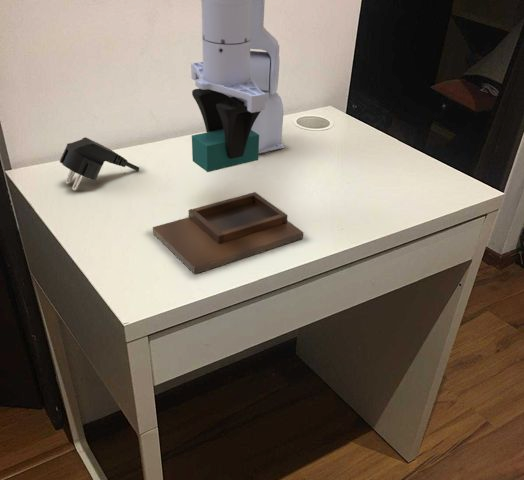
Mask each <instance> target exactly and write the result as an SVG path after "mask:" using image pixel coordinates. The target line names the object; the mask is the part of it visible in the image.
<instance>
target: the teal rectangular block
mask: <svg viewBox="0 0 524 480" xmlns="http://www.w3.org/2000/svg"><path fill="white" fill-rule="evenodd" d="M191 152H192V153H191V155H192V162H193V163H195V164H196V165H197V166H198V167H200V168H201V169H202V170H204V171H205V172H206V173H210V172H215V171H219V170H223V169H228V168H232V167H235V166H239V165H244V164H248V163H253V162H257V161H259V134H257V133H255V132H254V131H252V130H251V131H250V134H249V137H248V140H247V144H246V147H245V151H244V155H243V156H242V157H238V158H233V159H230V158H228V156H227V152H226V145H225V134H224V129H221V130H216V131H211V132H207V131H206V132H202V133H197V134H193V135H191Z"/></svg>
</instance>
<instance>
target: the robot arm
mask: <svg viewBox="0 0 524 480" xmlns="http://www.w3.org/2000/svg"><path fill="white" fill-rule="evenodd" d="M265 2H266V0H201V2H200V3H201V36H202V40H201V41H202V42H201V43H202V61H198V62H192V63H190V71H191V73H190V74H191V79H192V80H193V81H195V82H194V83H195V84H194V85H195V87H197V88H195V89H193V90H192V91H191V92H192V93H191V94H192V97H193V99H194V101H195V102H196V105H197V107H198V109H199V111H200V114H201V116H202V120H203V123H204V126H205V131H206V133H207V132H211V131H216V130H221V129H224V134H225V145H226V152H227V156H228V158H230V159H233V158H238V157H242V156H243V155H244V151H245V147H246V144H247V140H248V137H249V134H250V131H251V130H252V131H254V132H255V133H257V134H259V154H264V153H268V152H272V151H276V150H280V149H284V148H285V144H283V143H282V142H283V141H282V140H283V125H284V104H283V100H282V98H281V96H280V94H279V93H278V92H277V91H278V86H279V76H280V45H279V41H278V40H277V39H276V38H275V36H274V35H273V34H272V33H270V32H269V31H268V30H267V29H266V27H264V25H265V24H264V23H265ZM257 50H261V51H257Z"/></svg>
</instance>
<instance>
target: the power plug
mask: <svg viewBox="0 0 524 480" xmlns="http://www.w3.org/2000/svg"><path fill="white" fill-rule="evenodd" d="M105 162H106V163H109V164H113V165H116V166H119V167H123V168H126V167H127V168H130V169H132V170H134V171H136V172H139V171H140V167H139V166H137V165H135V164H133V163H131V162H128V159H126V158H125V157H123V156H121V155H120V154H118V153H117V152H116V151H114V150H113V149H110V148H109V147H106V146H104V145H103V144H101V143H99V142H98V141H94V140H92V139H90V138H89V137H86V136H85V137H82V138H81V139H78V140H76V141H73V142H70V143H67V144H66V146H65V149H64V150H63V153H62V155H61V157H60V159H59V163H60V164H62V166H64V167H65V168H66V169H68V170H69V172H68V174H67V177H66V179H65V181H64V182H65V184H67V185H70V184H71V183H72V181H73V178H74V176H75V174H77V176H76V178H75V179H74V182H73V184H72V186H71V188H72V190H73V191H78V190H79V186H80V184H81V182H82V181H83V179H84V178H86V179H89V180H91V181H96V180H97V178H98V176H99V174H100V173H101V169H102V168H103V165H104V163H105Z"/></svg>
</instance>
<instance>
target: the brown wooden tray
mask: <svg viewBox="0 0 524 480" xmlns="http://www.w3.org/2000/svg"><path fill="white" fill-rule="evenodd" d="M152 234H153V235H154V236H155V237H156V238H157V239H158V240H159V241H160V242H161V243H162V244H163V245H164V247H166V248H167V249H168V250H169V251H170V252H171V253H172V254H173V255H175V257H176V258H177V259H178V260H179V261H180V262H181V263H183V265H185V267H186V268H187V269H188V270H190V271H191V272H192V273H193V274H194V275H197V274H199V273H203V272H205V271H209V270H212V269H214V268H218V267H221V266H225V265H226V264H231V263H233V262H236V261H239V260H242V259H245V258H248V257H252V256H255V255H257V254H261V253H263V252H267V251H269V250H272V249H275V248H279V247H282V246H285V245H287V244H292V243H293V242H297V241H299V240H303V239H304V232H303V231H302V230H301V229H300V228H298V227H297V226H296V225H294V224H292V223H291V222H290V221H288V214H286V213H285V212H284V211H282V210H281V209H280V208H278V207H277V206H275V205H274V204H272V203H271V202H270V201H269V200H267V199H266V198H264V197H263V196H261V194H259V193H257V192H256V191H254V192H250V193H246V194H243V195H242V194H241V195H239V196H235V197H232V198H227V199H224V200H221V201H216V202H213V203H209V204H205V205H202V206H198V207H195V208H190V209H188V217H184V218H181V219H177V220H173V221H170V222H167V223H163V224H159V225H156V226H153V227H152Z"/></svg>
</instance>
